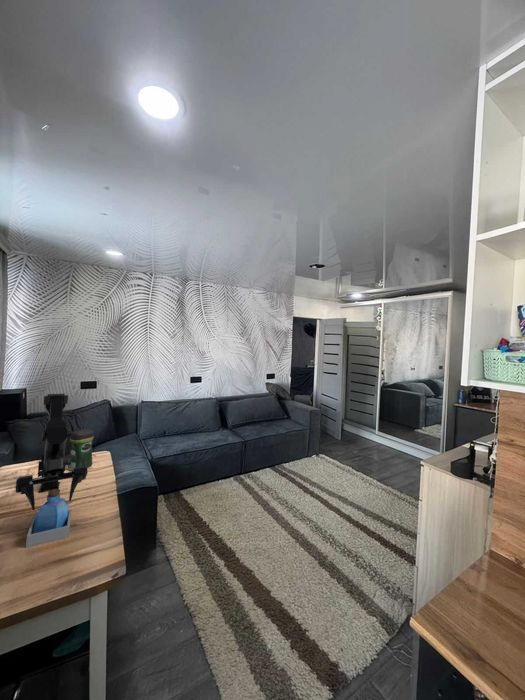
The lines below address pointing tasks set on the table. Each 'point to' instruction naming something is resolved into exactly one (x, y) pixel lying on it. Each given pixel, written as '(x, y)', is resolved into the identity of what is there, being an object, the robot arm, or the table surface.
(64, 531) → the tray
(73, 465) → the coffee jar
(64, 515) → the perfume bottle
